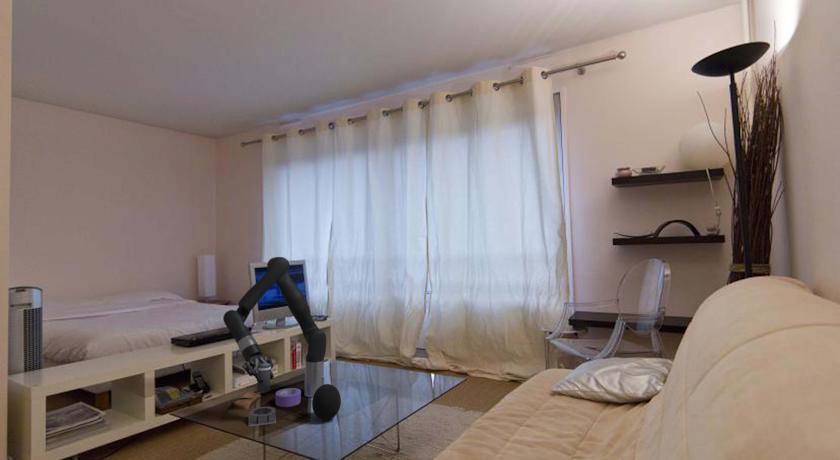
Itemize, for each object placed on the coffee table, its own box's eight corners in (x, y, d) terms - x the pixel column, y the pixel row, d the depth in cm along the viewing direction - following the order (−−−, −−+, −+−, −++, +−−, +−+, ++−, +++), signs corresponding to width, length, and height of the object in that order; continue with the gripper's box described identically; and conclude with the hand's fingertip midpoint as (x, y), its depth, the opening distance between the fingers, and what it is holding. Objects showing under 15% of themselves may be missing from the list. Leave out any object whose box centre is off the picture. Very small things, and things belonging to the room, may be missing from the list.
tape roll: (277, 408, 190) (277, 397, 190) (273, 400, 200) (273, 389, 201) (302, 404, 195) (303, 394, 196) (298, 396, 206) (298, 386, 206)
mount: (274, 413, 184) (275, 405, 184) (276, 423, 174) (276, 414, 174) (248, 416, 180) (249, 408, 180) (248, 426, 170) (249, 417, 170)
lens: (269, 387, 181) (270, 362, 181) (270, 391, 176) (271, 365, 176) (256, 389, 179) (257, 363, 179) (256, 393, 174) (257, 366, 174)
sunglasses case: (249, 409, 187) (242, 396, 188) (235, 417, 187) (228, 404, 187) (262, 395, 205) (256, 384, 206) (250, 402, 205) (243, 391, 205)
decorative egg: (325, 427, 170) (327, 391, 171) (305, 420, 177) (306, 385, 178) (346, 418, 181) (347, 383, 182) (325, 411, 187) (327, 378, 188)
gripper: (240, 346, 176) (258, 379, 169) (266, 340, 188) (284, 370, 182) (231, 356, 178) (248, 389, 171) (258, 350, 190) (275, 380, 184)
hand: (266, 380), depth 177 cm, fingers closed on lens, 5 cm apart
